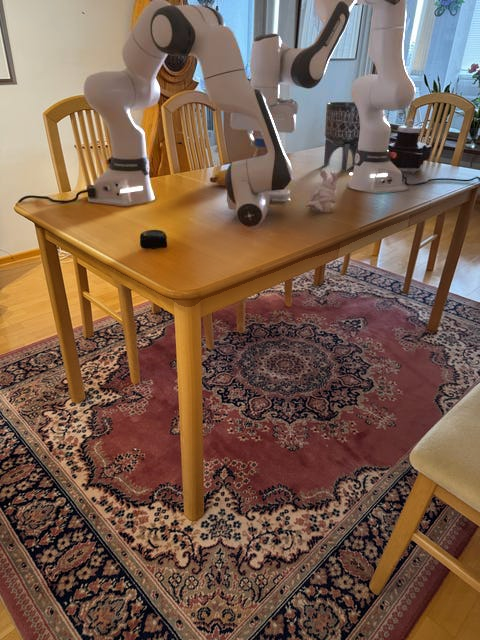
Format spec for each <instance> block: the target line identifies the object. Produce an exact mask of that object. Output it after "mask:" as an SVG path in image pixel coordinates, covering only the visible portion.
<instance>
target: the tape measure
mask: <svg viewBox="0 0 480 640" xmlns="http://www.w3.org/2000/svg"><path fill="white" fill-rule="evenodd" d="M167 236H168V235H167V234H166V232H165V231H164V230H161V229H147V230H144V231H143V232H141V233H140V235H139V240H140V241H139V245H140V246H139V247H141V248H142V249H146V250H157V249H167V248H168V240H167V239H168V237H167Z"/></svg>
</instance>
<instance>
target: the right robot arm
mask: <svg viewBox="0 0 480 640" xmlns="http://www.w3.org/2000/svg"><path fill="white" fill-rule="evenodd" d="M361 5H362V6H366V5H367V6H368V5H369V6H370V5H371V8H372V14H371V21H370V31H369V41H368V57H369V59H370V60H371V61H372V62H373V64H374V66H375V69H376V74H373V73H370V74H365V75H360V76H358V77H357V78H356V79H355V80H354V82H353V83H352V85H351V89H350V98H351V100H352V102H354V103H355V105H356V107H357V110H358V113H359V119H360V134H359V142H358V148H357V149H356V155H355V166H353V171H352V172H349V176H350V180H349V182H348V184H347V187H348V188H350V189H352V190H355V191H359V192H367V193H372V194H386V193H387V194H388V193H393V192H394V193H395V192H404V191H408V186H420V185H423V184H427V183H429V182H433V181H453V182H454V181H455V182H472V181H473V180H478V181H480V177H479V176H474V177H472V178H470V179H461V178H449V177H447V178H446V177H444V178H443V177H440V178H439V177H438V178H429V179H427V180H424V181H422V182H417V183H413V184H412V183H408V179H407V177H406V176H405V175H406V174H405V173H404V172H402V171H400V170H399V169H398V168H397V167H396V166H395V165H394V164H393V163H392V162H391V161H390V157H392V158H395V157H396V156H397V154H395V152H390V151H388V146H389V144H390V139H391V135H392V128H391V125H390V124H389V122H388V121H387V119H386V115H385V111H387V112H395V111H402V110H406V109H408V107H409V106H410V105H411V104H412V102H413V100H414V98H415V95H416V86H415V84H414V82H413V80H412V79H411V78H410V77H409V75H408V72H407V70H406V66H405V60H404V42H405V41H404V40H405V32H406V31H405V30H406V19H407V0H313V8H314V12H315V14H316V17H317V18H318V20H319V21H320V22H321V24H323V25H322V27H321V29H320V31H319V32H318V34H317V36H316V38H315V40H314V42H313V43H312V44H311V45H309V46H307V47H303V48H294V47H291V46H290V45H288V44H287V43H285V42H284V41H283V40H282V39H281V36H280V35H279V34H278V33H267V34H261V35H258V36H256V37H254V39H253V41H252V44H251V50H250V61H249V62H250V63H249V71H250V75H251V76H250V81H249V83H250V84H251V85H252V87H253V88H254V89H257V90H260V92H261V93H262V94H263V96H264V98H265V100H266V103H267V105H268V108H269V110H270V113H271V116H272V119H273V121H274V124H275V127H276V130H277V133H278V134H279V133H284V134H286V133H287V134H292V133H293V132H295V131H296V128H297V114H298V108H299V105H298V102H297V101H296V100H294V99H293V98H282V97H280V84H281V85H287V86H292V87H299V88H303V89H308V90H309V89H313V88H315V87H317V86H318V85H319V84H320V83H321V81H322V80H323V78H324V75H325V73H326V71H327V68H328V64H329V63H330V62H329V61H330V60H331V57H332V55H333V53H334V52H335V50H336V48H337V46H338V44H339V42H340V40H341V38H342V36H343V34H344V33H345V31H346V28H347V26H348V24H349V21H350V17H351V10H352V8H353V6H361ZM229 121H230V123H229V125H230V128H231V129H232V130H236V131H237V130H238V131H246V132H247V136H248V138H249V140H250V146H251V147H256V146H255V137H254V132H261V131H260V128H259V126H258V124H257V122H256V121H255V120H254V119H252V118H251V117H248V116H245V115H240V114H233V113H230V120H229ZM403 182H404V183H403Z"/></svg>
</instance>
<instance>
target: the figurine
mask: <svg viewBox="0 0 480 640" xmlns="http://www.w3.org/2000/svg"><path fill="white" fill-rule="evenodd" d="M319 175H320V178H321V179H322V180H323V181H322V182H323V183H322V186H319V187H316V188H315V189H314V190H313V192H312V194H311V195H310V199H309V202H307V204H306V206H305V207H306V209H310V210H311V211H312V210H316V211H320V212H321V213H331V212H332V211H331V208H332V206H333V205H332V204H334V203H336V200H337V193H336V190H337V179H338V177H337V176H338V175H336V173H335V172H334V171H333V170H332V169H330V175H331V178H328V172H327V171H326V170H325V169H323V168H321V170H320V173H319Z"/></svg>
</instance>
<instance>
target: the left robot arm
mask: <svg viewBox="0 0 480 640" xmlns="http://www.w3.org/2000/svg"><path fill="white" fill-rule="evenodd" d="M239 46H240V45H239V43H238V40H237V38H236V35H235V33H234V31H233V29H232V28H231V27H229V26H227V25H226V22H225V20H224V17H223V16H222V14H221V13H220V12H219V11H218V10H217V9H215V8H213V7H210V6H208V5H203V6H202V5H198V4H191V3H190V4H178V5H172V4H171V3H170V2H168V1H166V0H151V1H150V2H149V3H148V4H147V5H146V6H145V7H144V9H143V10H142V12H141V13H140V15H139V16H138V17H137V19H136V21H135V22H134V25H133V27H132V29H131V30H130V33H129V35H128V37H127V39H126V41H125V42H124V45H123V46H122V50H121V55H122V61H123V63H124V65H125V69H123V70H119V71H117V70H116V71H113V70H112V71H109V70H107V71H99V72H96V73H93V74H90V75H88V76H87V77H86V79H85V81H84V83H83V95H84V99H85V101H86V102H87V104H88V105H89V106H90V108H91V109H92V110H94V111H95V112H96V113H97V114H99V116H100V117H101V118H102V120H103V122H104V124H105V125H106V128H107V131H108V135H109V140H110V145H111V153H112V155H111V156H110V157H109V158H108V159H106V163H105V164H106V165H108V168H107V169H106V170H105V171H104V172H102V174H101V175H99V176H98V177H97V178H96V179H95V181H94V183H93V184H87V185H86V189H84V190H80V191H78V192H77V193H76V194H75V197H74V198H72V199H65V200H64V199H54V198H51V197H50V196H46V195H44V196H43V195H34V194H33V195H32V194H31V195H30V194H29V195H25V196H22V197H21V198H20V199H19V200H18V201H17V203H22V202H23V201H24V200H28V199H42V200H48V201H50V202H52V203H56V204H58V203H59V204H66V203H67V204H68V203H73V202H76V201H77V200H79V196H80V195H82V194H85V193H87V201H88V202H89V203H95V204H101V205H110V206H119V207H130V206H134V205H142V204H147V203H150V202H152V201H154V200H155V199H156V196H155V195H154V190H153V187H152V184H151V178H150V162H149V156H148V154H147V144H146V143H147V141H146V133H145V131H144V129H143V128H142V127H141V126H139V125H138V124H136V123H135V122H134V121H133V118H132V115H131V111H142V110H146V109H148V108H149V109H150V108H152V107H154V106H155V105H157V104H158V102H159V100H160V97H161V89H160V84H159V82H158V80H157V75H158V73H159V71H160V69H161V67H162V66H163V64H164V62H165V60H166V59H167V57H168V55H169V56H174V57H183V58H185V57H188V56H193V57H195V58H196V59H197V61H198V63H199V65H200V69H201V74H202V79H203V83H204V88H205V91H206V95H207V97H208V100H209V102H210V103H211V105H212V106H214V107H215V108H216V109H218V110H219V111H221V112H225V113H228V114H231V113H233V114H240V115H245V116H248V117H251V118H252V119H254V120H255V121H256V122H257V124H258V126H259V128H260V131H259V132H260V134H261V137H263V139H264V142H265V144H266V147H267V150H268V153H267V154H266V155H263V156H259V157H254V156H253V157H254V158H253V157H249V158H244V159H240V160H235V161H232V162H230V164H229V165H228V167H227V168H226V169H227V171H226V175H225V184H226V187H225V189H226V203H227V208H228V209H229V210H233V211H235V215H236V216H235V217H236V219H237V221H238V222H239V223H240V224H241V225H242V226H245V227H248V228H254V227H257V226H259V225H260V224H262V222H264V220H265V219H266V216H267V214H268V212H269V207H270V206H286V205H287V204H289V203H290V202H291V190H290V189H289V188H287V187H288V185H290V183H291V182H292V180H293V167H292V163H291V161H290V160H289V158H288V155H287V154H286V152H285V150H284V146H283V144H282V142H281V138H280V136H279V132H278V133H277V130H276V127H275V124H274V121H273V119H272V116H271V113H270V110H269V108H268V105H267V103H266V100H265V98H264V96H263V94H262V93H261V92H260V90H257V89H254V88H253V87H252V85H251V84H250V81H249V79H248V76H247V73H246V67H245V64H244V60H243V56H242V52H241V49H240V47H239Z"/></svg>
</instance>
